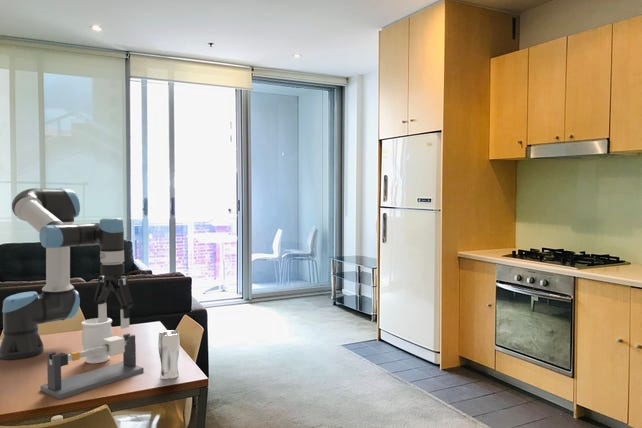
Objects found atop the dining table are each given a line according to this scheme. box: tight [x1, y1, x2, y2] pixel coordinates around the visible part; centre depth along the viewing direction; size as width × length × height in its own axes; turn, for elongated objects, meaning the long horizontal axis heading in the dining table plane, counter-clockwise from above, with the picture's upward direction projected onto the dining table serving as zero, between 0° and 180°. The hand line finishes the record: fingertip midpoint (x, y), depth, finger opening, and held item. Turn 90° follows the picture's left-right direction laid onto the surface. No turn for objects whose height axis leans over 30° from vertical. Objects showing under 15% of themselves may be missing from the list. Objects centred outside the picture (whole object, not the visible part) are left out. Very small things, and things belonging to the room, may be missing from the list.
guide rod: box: [49, 339, 128, 367], centre depth 164 cm, size 3×28×3 cm, turn 144°
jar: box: [81, 317, 113, 365], centre depth 185 cm, size 11×10×15 cm
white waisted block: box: [157, 329, 181, 381], centre depth 168 cm, size 7×7×15 cm
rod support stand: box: [39, 333, 145, 400], centre depth 164 cm, size 12×29×12 cm, turn 144°
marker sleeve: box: [103, 335, 125, 357], centre depth 170 cm, size 5×5×5 cm
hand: (113, 325), depth 169 cm, fingers open, 13 cm apart
